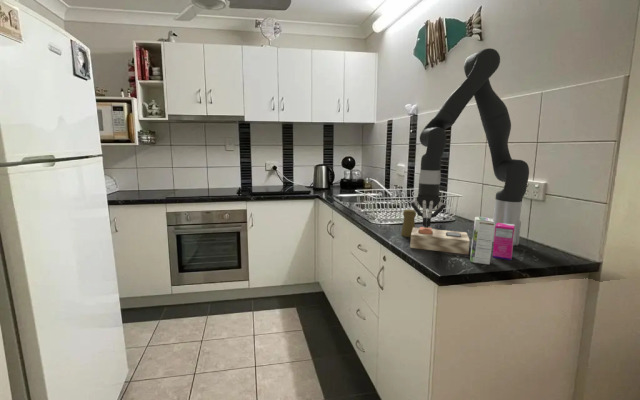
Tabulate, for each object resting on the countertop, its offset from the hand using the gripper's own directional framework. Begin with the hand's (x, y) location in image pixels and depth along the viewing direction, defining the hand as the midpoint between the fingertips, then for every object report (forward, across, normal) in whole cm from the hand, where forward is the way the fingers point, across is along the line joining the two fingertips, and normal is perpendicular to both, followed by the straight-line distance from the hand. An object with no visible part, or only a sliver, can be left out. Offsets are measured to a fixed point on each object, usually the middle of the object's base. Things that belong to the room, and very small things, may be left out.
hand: (426, 227), depth 126 cm
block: (+7, -5, 0) cm, 9 cm away
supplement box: (+7, -26, +4) cm, 27 cm away
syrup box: (+7, -18, +12) cm, 23 cm away
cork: (+7, +7, -12) cm, 16 cm away
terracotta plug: (+6, 0, 0) cm, 6 cm away
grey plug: (+7, -10, 0) cm, 12 cm away
